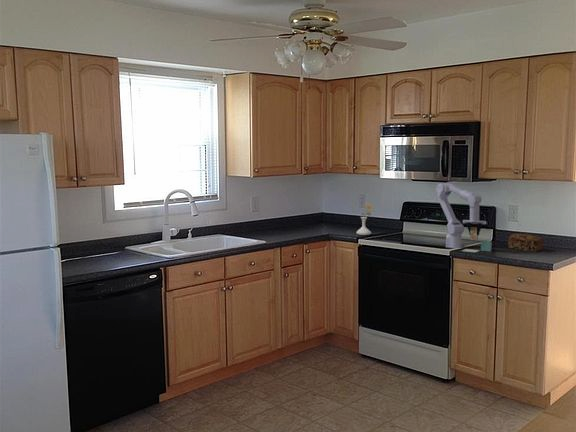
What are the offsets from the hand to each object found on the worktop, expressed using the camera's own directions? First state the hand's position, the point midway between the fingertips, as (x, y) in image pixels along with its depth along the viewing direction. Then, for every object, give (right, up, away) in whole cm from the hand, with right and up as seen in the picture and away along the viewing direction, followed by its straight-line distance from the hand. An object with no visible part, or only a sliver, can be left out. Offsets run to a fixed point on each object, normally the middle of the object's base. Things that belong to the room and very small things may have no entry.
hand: (474, 234), depth 356 cm
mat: (-3, -11, -1) cm, 11 cm away
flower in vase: (-60, -3, +73) cm, 95 cm away
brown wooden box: (0, -3, 0) cm, 3 cm away
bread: (+35, -10, +6) cm, 37 cm away
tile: (+7, -11, -2) cm, 13 cm away
